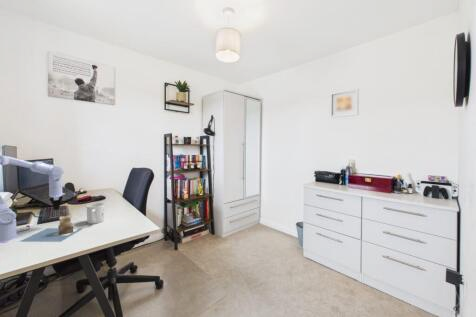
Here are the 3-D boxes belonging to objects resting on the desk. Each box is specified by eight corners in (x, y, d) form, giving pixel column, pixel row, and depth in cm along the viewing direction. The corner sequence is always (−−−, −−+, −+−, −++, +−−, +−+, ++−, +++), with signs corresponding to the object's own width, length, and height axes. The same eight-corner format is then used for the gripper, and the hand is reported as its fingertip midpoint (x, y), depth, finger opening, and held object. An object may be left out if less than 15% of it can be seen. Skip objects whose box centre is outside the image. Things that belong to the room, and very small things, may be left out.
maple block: (59, 228, 109) (59, 219, 109) (59, 225, 113) (59, 216, 112) (70, 226, 112) (70, 217, 112) (70, 223, 116) (70, 215, 115)
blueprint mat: (19, 242, 101) (19, 241, 101) (47, 228, 117) (47, 228, 117) (61, 242, 102) (61, 241, 102) (83, 229, 118) (83, 228, 118)
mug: (89, 220, 131) (88, 203, 130) (105, 218, 135) (105, 202, 134) (84, 227, 120) (83, 209, 119) (102, 225, 124) (101, 207, 123)
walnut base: (58, 235, 109) (58, 229, 108) (58, 231, 113) (58, 225, 113) (73, 232, 113) (73, 226, 112) (72, 228, 117) (72, 222, 117)
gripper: (65, 188, 116) (66, 211, 117) (64, 183, 127) (65, 205, 128) (48, 189, 111) (49, 214, 112) (48, 185, 122) (49, 207, 123)
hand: (56, 209), depth 120 cm, fingers closed
